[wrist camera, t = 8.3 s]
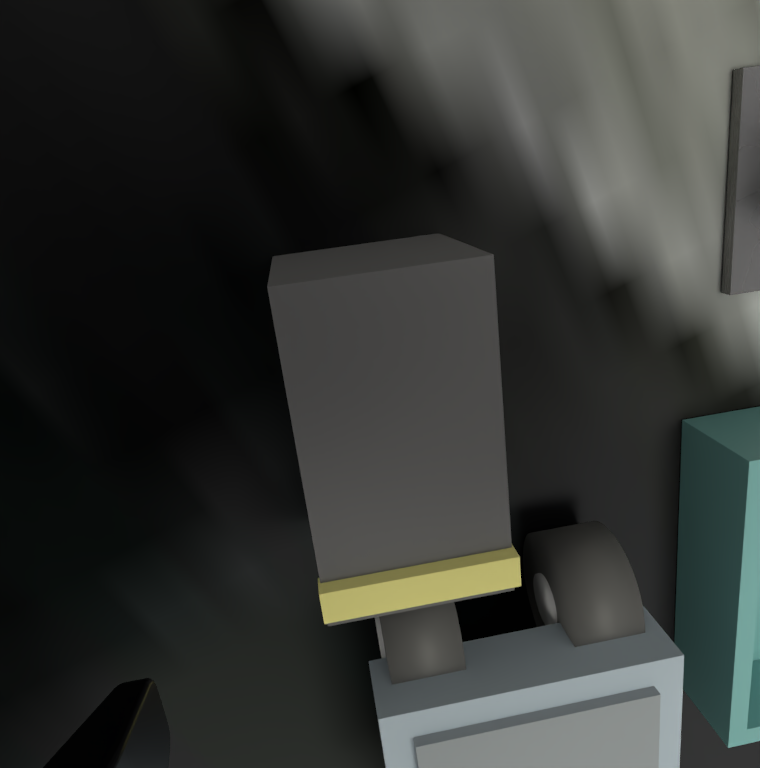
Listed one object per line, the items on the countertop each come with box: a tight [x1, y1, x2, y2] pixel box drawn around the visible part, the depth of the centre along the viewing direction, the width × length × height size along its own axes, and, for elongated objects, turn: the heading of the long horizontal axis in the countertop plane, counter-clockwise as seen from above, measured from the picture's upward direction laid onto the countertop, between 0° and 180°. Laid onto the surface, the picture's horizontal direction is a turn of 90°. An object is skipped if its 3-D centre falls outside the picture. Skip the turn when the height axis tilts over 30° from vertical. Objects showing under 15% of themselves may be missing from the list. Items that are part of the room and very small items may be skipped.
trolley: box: [369, 521, 684, 768], centre depth 19 cm, size 8×10×5 cm
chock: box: [267, 233, 521, 626], centre depth 16 cm, size 5×8×5 cm, turn 7°
